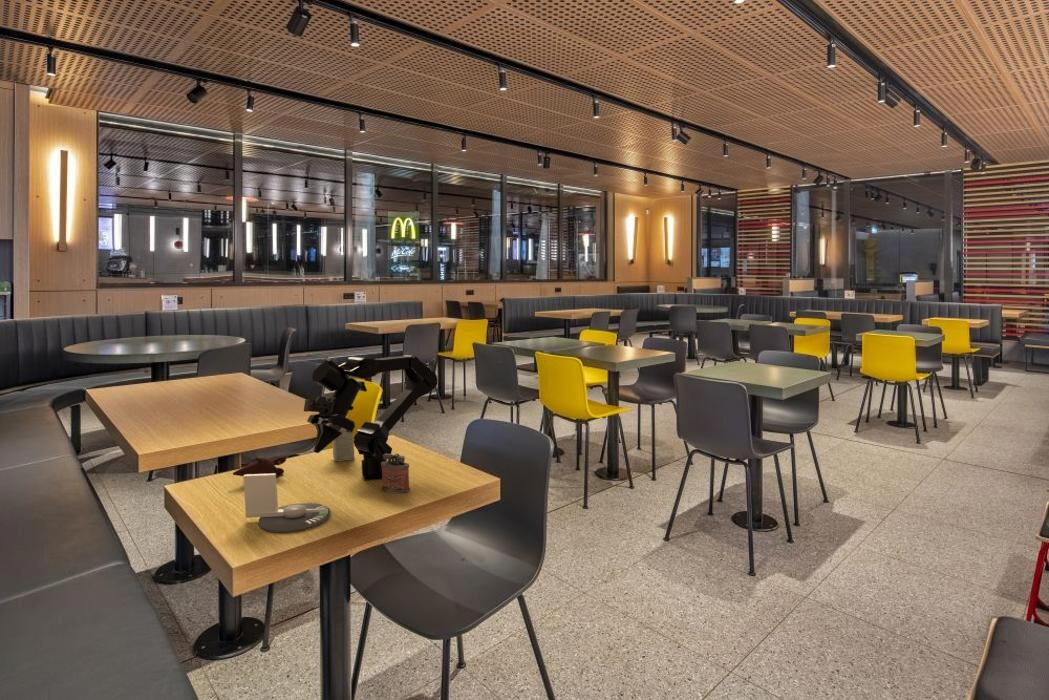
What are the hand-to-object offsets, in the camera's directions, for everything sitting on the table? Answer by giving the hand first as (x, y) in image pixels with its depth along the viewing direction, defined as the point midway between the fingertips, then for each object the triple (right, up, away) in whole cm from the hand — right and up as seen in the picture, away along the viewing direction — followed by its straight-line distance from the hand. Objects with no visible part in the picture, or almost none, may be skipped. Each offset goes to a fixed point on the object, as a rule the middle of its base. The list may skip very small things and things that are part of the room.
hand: (315, 452), depth 161 cm
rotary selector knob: (-2, -12, -14) cm, 19 cm away
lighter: (+20, -11, +5) cm, 23 cm away
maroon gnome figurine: (-20, -10, +14) cm, 27 cm away
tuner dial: (0, -13, -14) cm, 19 cm away
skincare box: (-2, -8, +33) cm, 34 cm away
